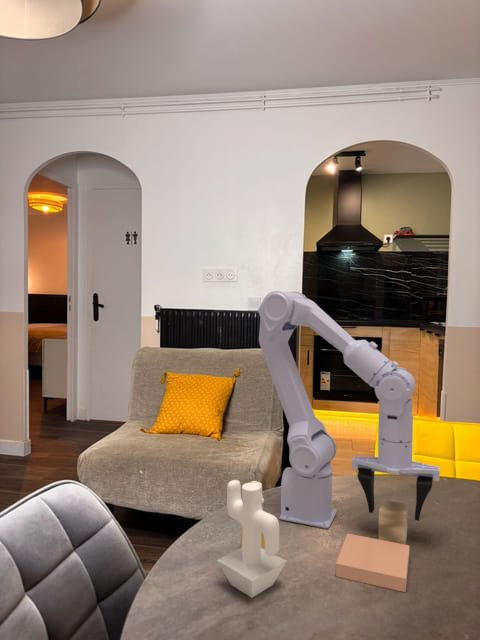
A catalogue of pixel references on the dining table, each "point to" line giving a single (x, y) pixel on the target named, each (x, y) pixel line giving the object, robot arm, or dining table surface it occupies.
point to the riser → (374, 562)
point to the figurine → (252, 541)
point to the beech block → (393, 522)
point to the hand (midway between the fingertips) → (394, 514)
